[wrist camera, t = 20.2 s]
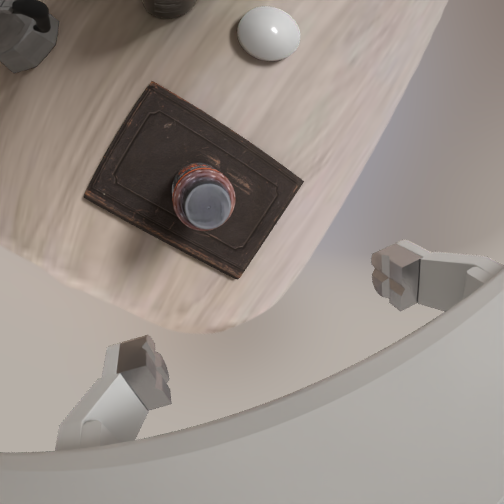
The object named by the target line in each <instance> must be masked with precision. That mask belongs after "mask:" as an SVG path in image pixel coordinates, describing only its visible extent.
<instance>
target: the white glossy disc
mask: <svg viewBox="0 0 504 504" xmlns="http://www.w3.org/2000/svg"><path fill="white" fill-rule="evenodd" d="M237 37H238V40H239V42H240V44H241V46H242V47H243V49H244V50H245V51H246V52H247V53H248V54H250V55H251V56H253V57H255V58H257V59H259V60H263V61H279V60H282V59H284V58H286V57H288V56H289V55H291V54H292V53H293V52H294V51H295V50H296V49H297V47H298V45H299V42H300V31H299V28H298V25H297V23H296V22H295V20H294V19H293V18H292V17H291V16H290V15H289V14H287V13H286V12H284V11H283V10H280V9H278V8H275V7H269V6H262V7H257V8H254V9H252V10H250V11H248V12H247V13H246V14H245V15H244V16H243V18H242V19H241V20H240V22H239V24H238V27H237Z"/></svg>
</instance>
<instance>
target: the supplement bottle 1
mask: <svg viewBox="0 0 504 504" xmlns="http://www.w3.org/2000/svg"><path fill="white" fill-rule="evenodd" d="M196 1H197V0H143V5H144V7H145V9H146V10H147V11H148V12H149V13H150V14H151V15H153V16H155V17H158V18H166V19H167V18H175V17H179V16H181V15H183V14H185V13H187V12H188V11H189V10H191V9H192V8H193V6H194V5H195V3H196Z"/></svg>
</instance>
